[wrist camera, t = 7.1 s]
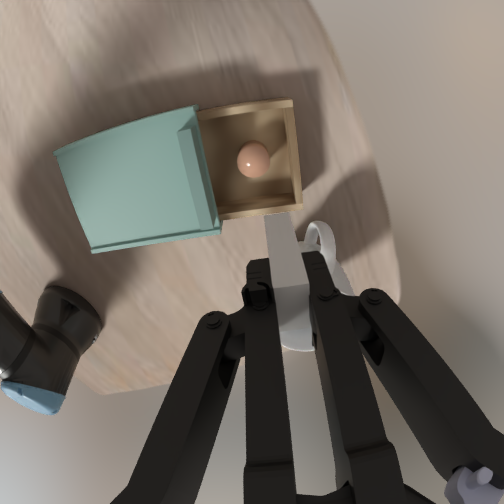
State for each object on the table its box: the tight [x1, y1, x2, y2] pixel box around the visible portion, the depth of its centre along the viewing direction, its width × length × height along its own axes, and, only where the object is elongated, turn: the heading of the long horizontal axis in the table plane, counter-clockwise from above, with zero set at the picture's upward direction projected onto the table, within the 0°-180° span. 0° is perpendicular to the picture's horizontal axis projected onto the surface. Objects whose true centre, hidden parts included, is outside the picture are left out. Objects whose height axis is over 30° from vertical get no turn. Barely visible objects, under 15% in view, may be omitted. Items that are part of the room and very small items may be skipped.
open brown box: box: [196, 97, 303, 221], centre depth 33 cm, size 18×13×4 cm
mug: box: [280, 221, 355, 351], centre depth 37 cm, size 15×11×13 cm
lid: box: [53, 104, 223, 254], centre depth 31 cm, size 18×15×5 cm
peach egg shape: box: [237, 140, 270, 178], centre depth 32 cm, size 4×4×4 cm
